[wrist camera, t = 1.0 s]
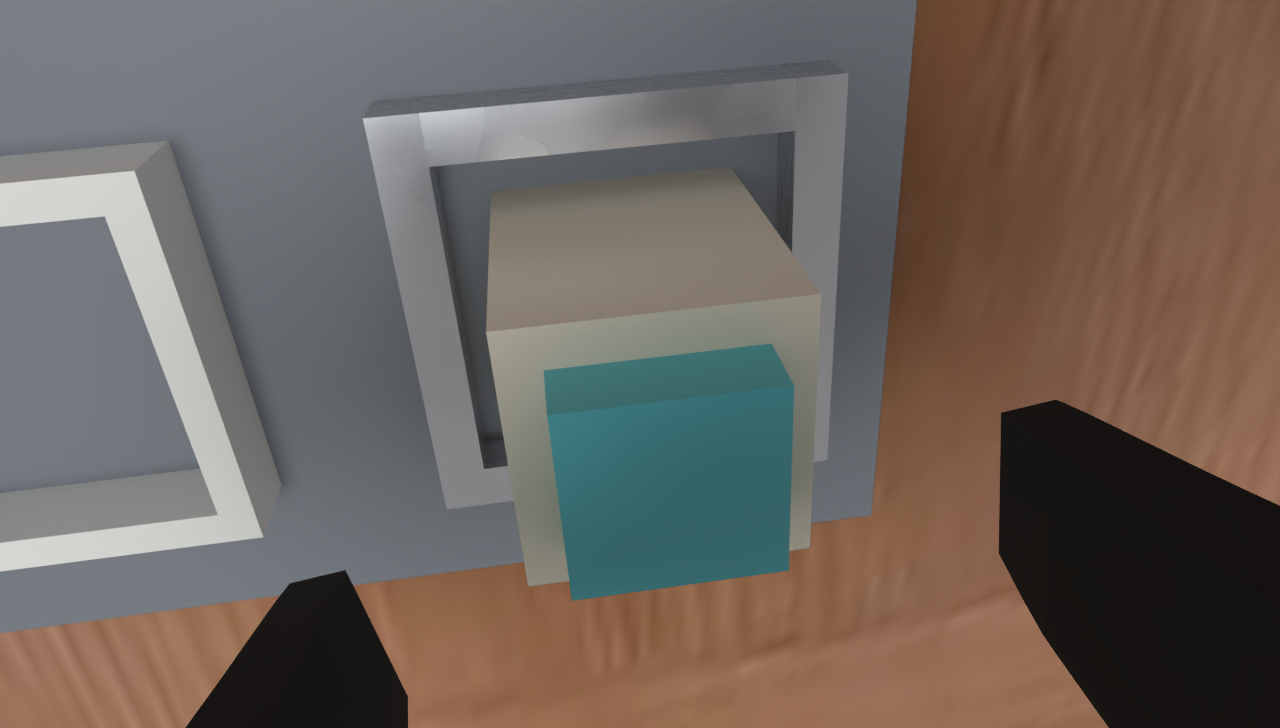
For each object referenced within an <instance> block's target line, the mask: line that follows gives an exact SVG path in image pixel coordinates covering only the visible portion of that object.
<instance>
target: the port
mask: <svg viewBox="0 0 1280 728" xmlns="http://www.w3.org/2000/svg"><path fill="white" fill-rule="evenodd" d="M104 216H105V219H106V221H107V224H108V226H109V229H110V232H111V234H112V237H113V240H114V242H115V245H116V248H117V250H118V253H119V255H120V258H121V261H122V263H123V266H124V269H125V271H126V274H127V277H128V279H129V282H130V284H131V287H132V290H133V292H134V295H135V298H136V300H137V303H138V306H139V308H140V311H141V313H142V316H143V319H144V321H145V324H146V327H147V329H148V332H149V335H150V337H151V340H152V342H153V345H154V348H155V350H156V353H157V356H158V358H159V361H160V364H161V366H162V369H163V372H164V374H165V377H166V379H167V382H168V385H169V387H170V390H171V393H172V395H173V398H174V401H175V403H176V406H177V408H178V411H179V414H180V416H181V419H182V422H183V424H184V427H185V430H186V432H187V435H188V437H189V440H190V443H191V445H192V448H193V451H194V453H195V456H196V459H197V461H198V464H199V466H200V468H199V469H191V470H183V471H175V472H167V473H159V474H151V475H143V476H134V477H126V478H118V479H110V480H102V481H94V482H86V483H78V484H70V485H61V486H53V487H45V488H37V489H29V490H21V491H13V492H5V493H0V572H1V571H8V570H16V569H24V568H31V567H39V566H47V565H55V564H62V563H70V562H78V561H85V560H93V559H101V558H108V557H116V556H124V555H131V554H139V553H147V552H155V551H162V550H170V549H178V548H185V547H193V546H201V545H208V544H216V543H224V542H231V541H239V540H247V539H255V538H262V537H264V534H265V531H266V528H267V526H268V523H269V520H270V517H271V514H272V511H273V508H274V505H275V503H276V500H277V497H278V494H279V491H280V488H281V482H280V479H279V476H278V473H277V470H276V467H275V464H274V460H273V457H272V454H271V451H270V448H269V445H268V442H267V439H266V436H265V433H264V430H263V427H262V424H261V421H260V418H259V415H258V411H257V408H256V405H255V402H254V399H253V396H252V393H251V390H250V387H249V384H248V381H247V378H246V375H245V372H244V369H243V366H242V363H241V359H240V356H239V353H238V350H237V347H236V344H235V341H234V338H233V335H232V332H231V329H230V326H229V323H228V320H227V317H226V314H225V310H224V307H223V304H222V301H221V298H220V295H219V292H218V289H217V286H216V283H215V280H214V277H213V274H212V271H211V268H210V265H209V261H208V258H207V255H206V252H205V249H204V246H203V243H202V240H201V237H200V234H199V231H198V228H197V225H196V222H195V219H194V216H193V212H192V209H191V206H190V203H189V200H188V197H187V194H186V191H185V188H184V185H183V182H182V179H181V176H180V173H179V170H178V167H177V163H176V160H175V157H174V154H173V151H172V148H171V145H170V142H169V140H168V141H157V142H147V143H136V144H125V145H115V146H104V147H93V148H83V149H72V150H61V151H51V152H40V153H29V154H18V155H8V156H0V227H4V226H14V225H24V224H34V223H44V222H54V221H64V220H74V219H84V218H94V217H104Z"/></svg>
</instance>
